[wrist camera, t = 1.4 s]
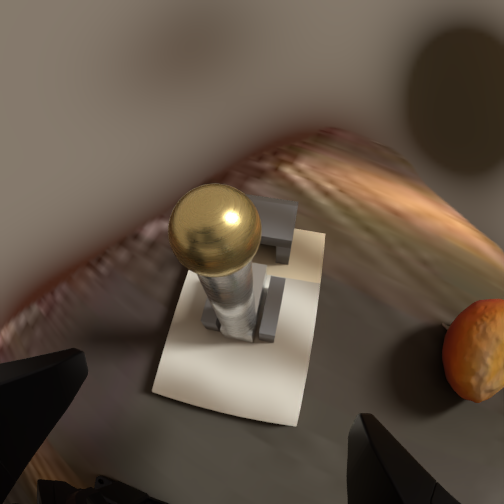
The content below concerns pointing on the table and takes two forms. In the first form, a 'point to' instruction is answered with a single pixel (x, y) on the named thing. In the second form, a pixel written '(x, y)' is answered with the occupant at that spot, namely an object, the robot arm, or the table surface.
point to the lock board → (266, 334)
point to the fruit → (476, 351)
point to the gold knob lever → (222, 253)
